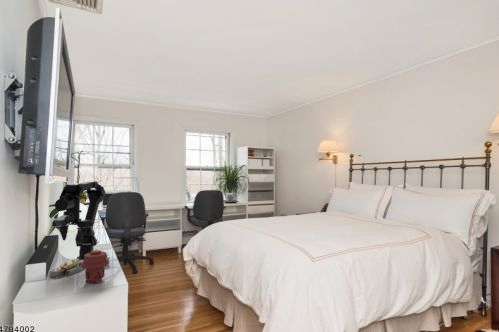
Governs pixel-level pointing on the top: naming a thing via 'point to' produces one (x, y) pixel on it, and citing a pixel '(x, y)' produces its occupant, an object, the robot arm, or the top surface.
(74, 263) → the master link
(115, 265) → the top surface
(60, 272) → the studded rectangular link
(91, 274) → the mechanical component
